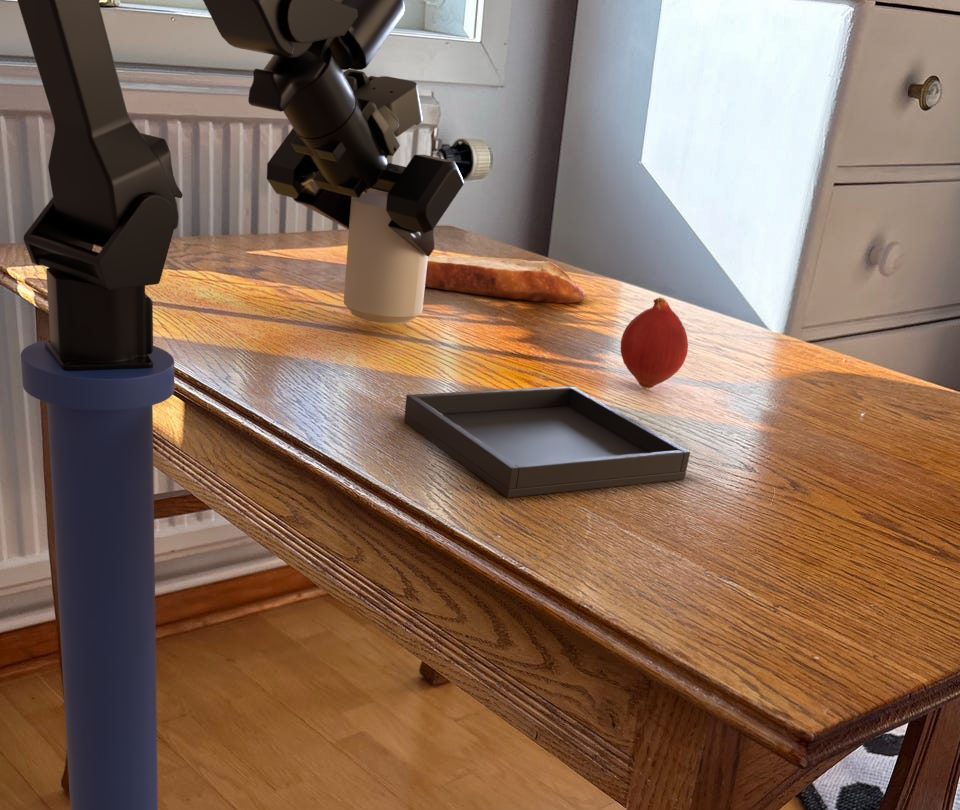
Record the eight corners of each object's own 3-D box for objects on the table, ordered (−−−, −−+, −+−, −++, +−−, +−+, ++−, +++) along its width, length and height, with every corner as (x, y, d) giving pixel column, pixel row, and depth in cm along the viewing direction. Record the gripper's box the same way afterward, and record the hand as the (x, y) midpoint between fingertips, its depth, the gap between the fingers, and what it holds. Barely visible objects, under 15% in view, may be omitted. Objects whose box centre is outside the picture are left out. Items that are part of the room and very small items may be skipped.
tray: (507, 498, 77) (511, 468, 76) (403, 421, 88) (406, 394, 87) (684, 479, 85) (690, 451, 84) (568, 410, 96) (572, 385, 95)
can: (377, 302, 116) (388, 174, 110) (436, 321, 112) (451, 189, 107) (326, 310, 110) (335, 176, 105) (387, 330, 107) (399, 191, 101)
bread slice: (375, 274, 131) (378, 240, 130) (488, 266, 143) (492, 234, 141) (487, 315, 121) (492, 279, 119) (599, 303, 133) (604, 269, 131)
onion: (641, 374, 108) (658, 287, 104) (691, 393, 105) (710, 303, 101) (601, 382, 104) (617, 291, 101) (651, 401, 101) (670, 308, 97)
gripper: (464, 54, 93) (523, 196, 106) (296, 26, 102) (369, 160, 115) (390, 160, 91) (459, 292, 104) (225, 122, 100) (308, 247, 113)
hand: (398, 243), depth 109 cm, fingers closed on can, 7 cm apart
